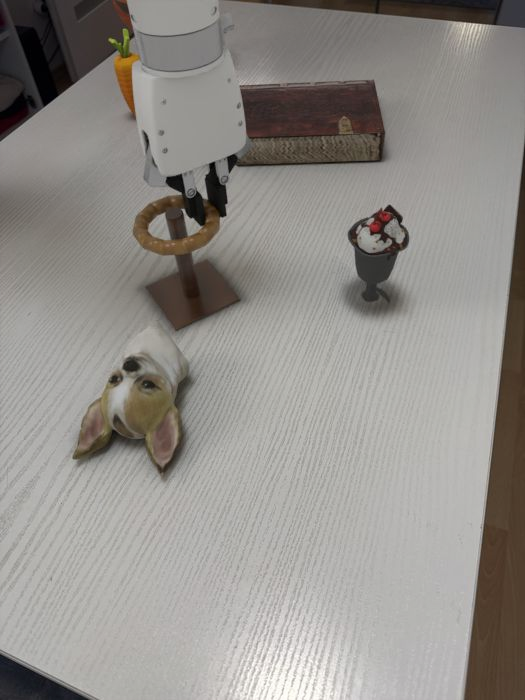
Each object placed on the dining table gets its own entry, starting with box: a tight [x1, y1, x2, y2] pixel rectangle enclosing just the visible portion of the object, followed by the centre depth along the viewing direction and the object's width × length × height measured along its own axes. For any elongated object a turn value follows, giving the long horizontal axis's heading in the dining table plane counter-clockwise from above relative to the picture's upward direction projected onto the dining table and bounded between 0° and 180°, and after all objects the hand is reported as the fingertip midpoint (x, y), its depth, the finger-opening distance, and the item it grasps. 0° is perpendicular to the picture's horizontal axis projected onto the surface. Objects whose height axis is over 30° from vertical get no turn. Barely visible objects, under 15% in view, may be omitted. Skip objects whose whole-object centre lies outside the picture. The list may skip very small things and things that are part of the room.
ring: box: [132, 194, 221, 257], centre depth 60 cm, size 10×10×2 cm
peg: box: [145, 208, 241, 332], centre depth 64 cm, size 9×9×13 cm
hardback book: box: [235, 79, 386, 166], centre depth 91 cm, size 29×19×5 cm, turn 88°
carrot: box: [108, 28, 140, 118], centre depth 94 cm, size 5×5×15 cm
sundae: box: [347, 204, 410, 304], centre depth 61 cm, size 7×7×15 cm
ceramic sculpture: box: [71, 320, 190, 476], centre depth 55 cm, size 11×9×15 cm
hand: (207, 214), depth 62 cm, fingers closed on ring, 2 cm apart
